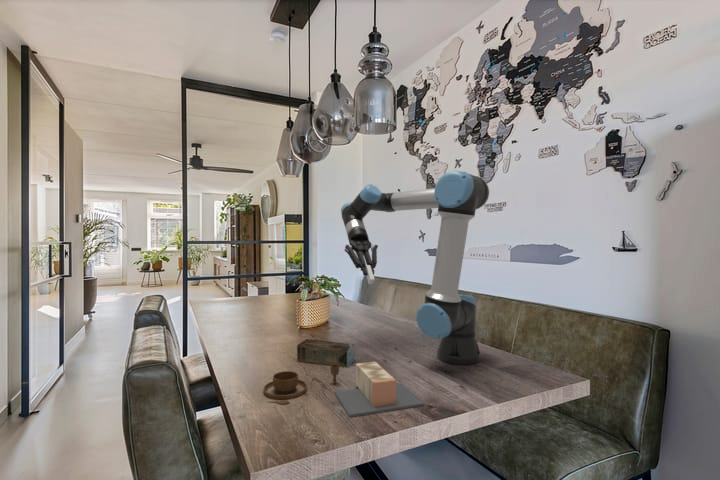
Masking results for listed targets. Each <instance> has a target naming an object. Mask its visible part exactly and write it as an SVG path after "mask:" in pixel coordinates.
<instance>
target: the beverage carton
mask: <svg viewBox="0 0 720 480" xmlns="http://www.w3.org/2000/svg"><path fill="white" fill-rule="evenodd" d="M355 347H356V346H355V344H352V343H345V342H338V341H337V342H336V341H328V340H318V339H308V338H306V339H305V340H303V341H301V342H300V343H298V344H297V346H296V348H297V351H296V352H297V353H296V356H297V358H296V359H297V362H303V363H309V364H310V363H311V364H317V365H318V364H319V365H324V366H325V365H326V366H331V365H333V364H337V365H339V367H342V368H348V367H349V366H350V365H351V364H352V363H353V362H355V356H356V353H355Z"/></svg>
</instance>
